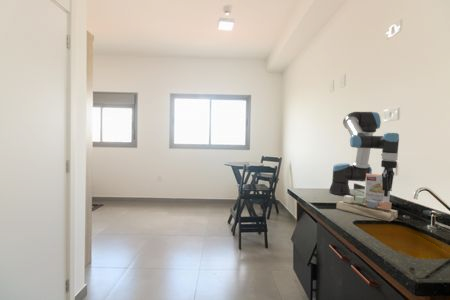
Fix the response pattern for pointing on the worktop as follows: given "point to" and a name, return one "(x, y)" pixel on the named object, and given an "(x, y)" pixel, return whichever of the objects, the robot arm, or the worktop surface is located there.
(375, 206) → the slate key
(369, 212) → the key console
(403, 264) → the worktop surface
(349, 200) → the ivory key
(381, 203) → the pink small block
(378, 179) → the cracker box
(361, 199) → the sage key
